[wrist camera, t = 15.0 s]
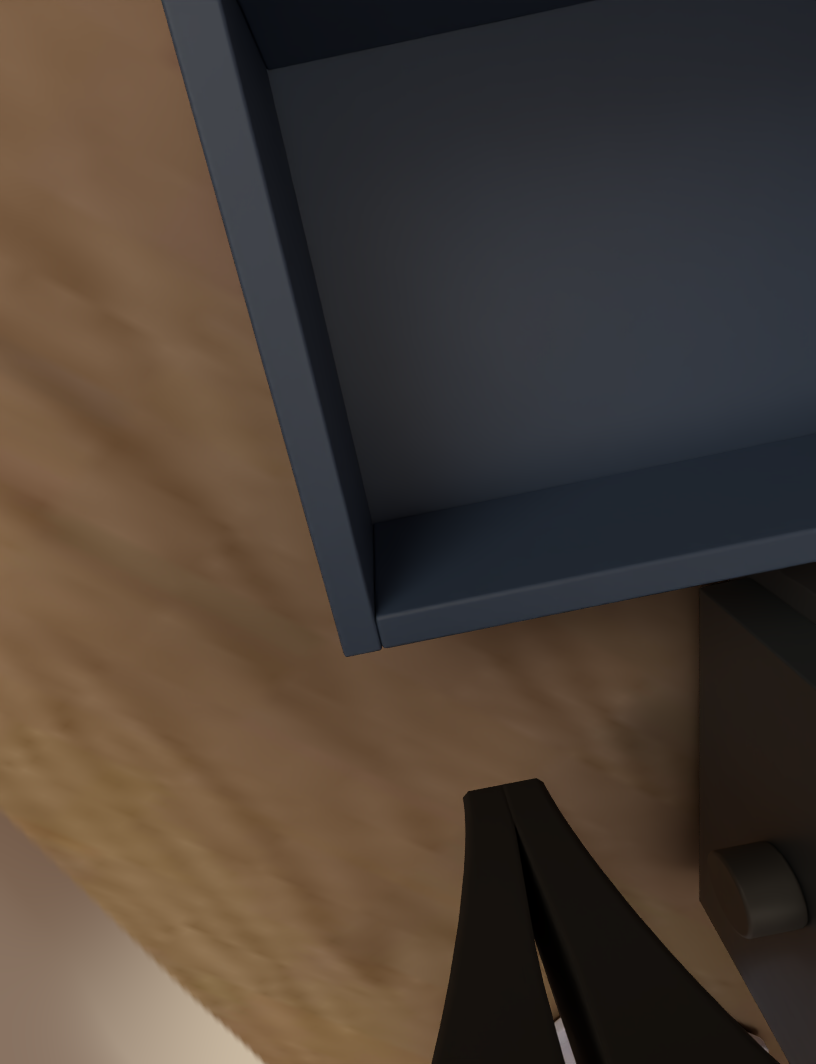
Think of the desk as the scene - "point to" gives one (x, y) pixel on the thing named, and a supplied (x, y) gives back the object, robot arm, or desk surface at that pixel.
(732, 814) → the drawer
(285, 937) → the desk surface
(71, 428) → the desk surface
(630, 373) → the box
